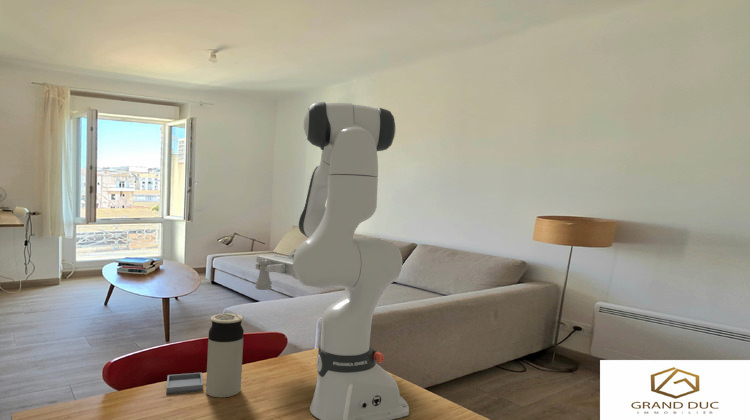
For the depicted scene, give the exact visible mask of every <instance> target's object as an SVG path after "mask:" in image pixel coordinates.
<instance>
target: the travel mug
mask: <svg viewBox="0 0 750 420" xmlns="http://www.w3.org/2000/svg"><path fill="white" fill-rule="evenodd" d="M209 319H210V321H211V326H210V328H209V330H208V341H207V357H206V358H207V360H206V361H207V362H206V381H205V386H206V387H205V393H206V394H207V395H208V396H210V397H213V398H220V399H221V398H222V399H223V398H224V399H225V398H229V397H233V396H234V395H237V394H239V393H240V392H241V390H242V389H241V388H242V371H243V370H242V369H243V352H244V351H243V349H244V333H245V331H244V327H243V326H242V322H243V320H244V317H243V315H241V314H238V313H230V312H229V313H218V314H214V315H212V316H211V317H210V318H209Z"/></svg>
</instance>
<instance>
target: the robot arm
mask: <svg viewBox="0 0 750 420" xmlns="http://www.w3.org/2000/svg"><path fill="white" fill-rule="evenodd" d="M303 130H304V134H305V137H306V140H307V141H308V142H309V143H310V144H311V145H313V146H316V148H317V147H318V148H320V150H321V156H320V163H319V164H318V165H317V166H316V167H315V168H314V169H313V172H312V174H311V178H310V182H309V186H308V190H307V195H306V200H305V204H304V207H303V211H302V212H301V214H300V217H299V220H298V229H299V232H300V233H301V234H302V235H304V236H305V237H306V238H307V239H305V240H304V241H303V242H302V243H300V244H299V246H298V247H297V248H295V249H293V250H292V251H291V252H290V253H289V254H288V256H286V255H282V254H260V255H257V256H256V259H255V260H256V262H255V269H256V270H258V271H260V269H259V268H260V264H259V263H258V262H259V261H260V259H261V258H263V259H264V260H265V258H267V259H270V262H271V263H270V265H265V271H266V272H269V273H277V274H281V275H286V276H290V277H292V278H293V279H295V280H298V281H299V283H300V284H302V285H303V286H307V287H311V288H318V289H319V288H320V289H336V288H338V289H340V288H344V291H343V292H342V295H341V296H340V297H339V299H337V300H336V301H334V302H333V303H331V304H329V306H327V307H326V309H325V310H324V312H323V313H322V317H321V331H320V345H319V346H318V352H317V358H316V359H317V361H316V372H317V379H316V385H315V390H314V393H313V398H312V400H311V402H310V406H309V412H310V413H311V415H312V416H313V417H314V418H316V419H319V420H395V419H401V418H403V417H407V416H409V415H410V406H409V404H408V402H407V401H406V399H405V398H403V396H402V395H400V389H399V386H398V383H397V381H396V379H395V378H394V377H393V376H392V375H391V374H389V372H387V371H386V369H384V368H383V367H381V366H380V365H379V364H381V363H383V362H384V361H385V355H384V354H383V353H382V352H381V351H377V350H376V349H375V348H373V347H371V346H370V344H371V343H370V342H371V332H372V323H373V322H372V321H373V316H374V312H375V309H376V307H377V304H378V302H379V301H380V298H381V297H382V295H383V294H384V292H385V291H386V289H388V287H389V286H390V285H392V284H393V283H394V282H395V281H396V280H398V278H399V276H400V274H401V272H402V270H403V256H402V252H401V251H400V248H399V247H398V246H397V244H396V243H394V242H392V241H388V240H384V239H379V238H371V237H370V238H366V237H365V238H364V237H361V238H360V237H358V238H357V237H355V238H354V235H355V232H356V230H357V228H358V227H359V225H360V224H361V223H363V222H365V221H367V220H369V219H371V218H372V217H373V215H374V214H375V212H376V210H377V204H378V202H377V201H378V180H379V179H378V178H379V160H378V159H379V158H378V157H379V156H378V152H381V151H382V152H383V151H385V150H386V151H387V149H389V148H390V147H391V146H392V144H393V142H394V140H395V137H396V131H397V129H396V122H395V117H394V115H393V113H392V112H391V111H390V110H388V109H386V108H382V107H379V106H378V107H377V108H376V107H372V106H366V105H362V104H361V105H360V104H353V103H350V102H349V103H347V102H329V103H326V101H322V102H321V101H319V102H315V103H314V102H313V103H312V104H311V105H310V106H309V107H308V109H307V111H306V113H305V116H304V120H303ZM378 363H379V364H378Z"/></svg>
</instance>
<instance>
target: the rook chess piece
mask: <svg viewBox="0 0 750 420" xmlns="http://www.w3.org/2000/svg"><path fill="white" fill-rule="evenodd" d="M258 263H259V264H260V268H259V269H260V270H259V273H258V277H257V281H255V286H254V287H255V289H256V290H263V291H267V290H268V291H269V290H271V289H272V288H273V286H272V284H273V282H272V281H271V278H270V272H266V271H265V265H270V263H271V262H270V259H267V258H265V260H264V259H263V258H261V259H260V261H259V262H258Z"/></svg>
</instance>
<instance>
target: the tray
mask: <svg viewBox="0 0 750 420" xmlns="http://www.w3.org/2000/svg"><path fill="white" fill-rule="evenodd" d="M166 380H167V381H166V395H171V394H172V395H174V394H183V393H184V394H185V393H193V392H194V393H195V392H203V391H204V382H203V372H193V373H191V372H190V373H189V372H188V373H180V374H178V373H177V374H168V375H167V379H166Z"/></svg>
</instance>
